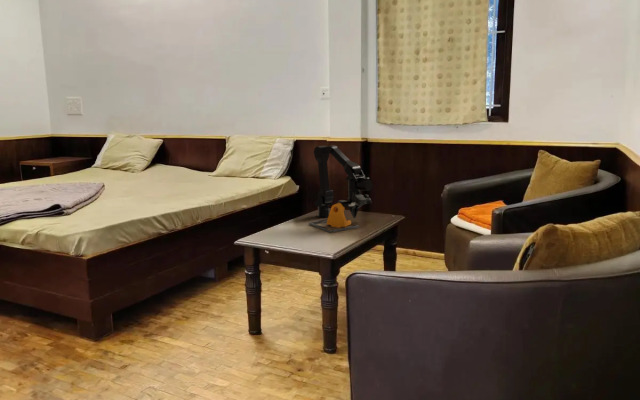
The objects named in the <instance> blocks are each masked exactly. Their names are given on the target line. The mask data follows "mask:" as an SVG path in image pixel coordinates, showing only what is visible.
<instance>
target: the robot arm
mask: <svg viewBox="0 0 640 400" xmlns="http://www.w3.org/2000/svg"><path fill="white" fill-rule="evenodd" d="M313 155H314V158H315V160H316V162H317V167H318V177H319V188H320V189H319V190H318V193H317V199H316V200H315V201H314V206H315V207H317V212H318V213H317V214H316V215H315V217H318V218H320V219H322V218H328V216H329V213H330V211H329V209H330V208H329V206H331V205H333V201H334V198H335V196H334V190H333V189H332V190H331V188H330V184H329V182H330V181H329V170H328V169H329V167H328V161H329V157H330V155H331V156H332V158H334V159H335V160H336V161H337V162H338V163H339V164H340V165H341V166H342V167H343V170H344V172H345V174H346V175H347V177H345V178H344V179H345V181H348V190H347V192H346V193H348V197H347V200H344V199H340V200H337V201H336V204H337V203H341V204H342V205H343V207H345V208H348V209H349V212H350V214H351V216H352V218H353V219H355V218H356V217H357V215H358V212H359V209H360V208H361V207H363V205H369V204H372V199H371V198H370V196H369V194H364V195H363V194H362V191H366V192H370V191H371V190H372V189H373V182H372V180H371V179H370V177H366V175H365V174H364V171H363V170H362V167H361V166H360V165H359V164H358V163H356V162H355V161H354V162H353V161H351V160H350V158H348V157H347V156H346V155H345V154H344V153H343V151H341V149H339V148H338V146H337V145H336V144H335V145H329V146H327V145H319V146H315V147H314V149H313Z"/></svg>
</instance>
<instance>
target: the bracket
mask: <svg viewBox="0 0 640 400" xmlns="http://www.w3.org/2000/svg"><path fill="white" fill-rule="evenodd" d="M345 208H346V207H343V205H342V204H341V203H337V202H336V203H335V204H332V206H331V208H330V211H329V216H328V217H327V219H326V220H327V222H326V225H328V226H329V225H330V226H331V227H332V228H333V227H334V228H343V227H349V226H351V225H352V220H351V219H347V218H346V216H345Z"/></svg>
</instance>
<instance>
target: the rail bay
mask: <svg viewBox="0 0 640 400" xmlns="http://www.w3.org/2000/svg"><path fill="white" fill-rule="evenodd" d="M323 223H327V219H323V220H322V219H321V220H316V221H309V222H308V225H309V226H311V227H314V228H317V229H319V230H322V231H324V232H327V233H330V234H331V233H337V232H342V231H347V230H352V229H353V230H354V229H359V228H360V225H359V224H356V225H348V226H346V227H341V228H339V227H337V228H334V229H333V228H332V229H330V228H327V227H325V226H322V225H319V224H323Z"/></svg>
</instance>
